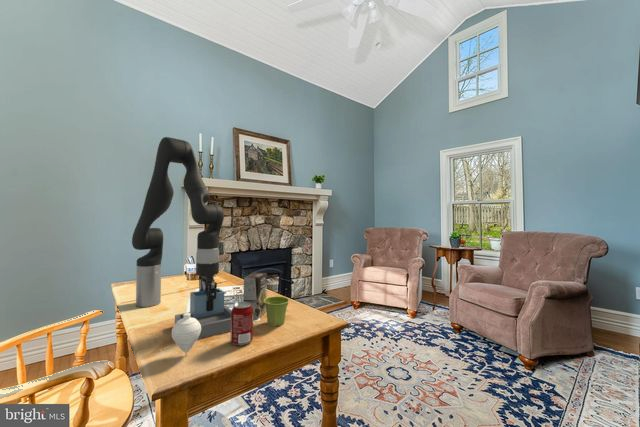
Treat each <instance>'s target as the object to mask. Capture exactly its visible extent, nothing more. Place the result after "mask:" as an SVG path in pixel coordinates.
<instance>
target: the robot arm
mask: <svg viewBox="0 0 640 427" xmlns="http://www.w3.org/2000/svg"><path fill="white" fill-rule="evenodd" d="M170 163H173V164H174V163H175V164H181V165H182V166H184V168H185V170H186V171H185V174H184V178H183V188H184V191H185V193H186V196H187V197H188V199H189V203H190V211H191V218H192V219H193V221H194V222H195V223H196V224H198V225H207V228H206V229H205V230H203V231H199V232H198V233H197V238H196V239H197V242H196V243H197V245H196V246H197V247H196V257H195V258H196V259H195V262H196V263H195V265H196V266H195V273H196V276H198V286H199V287H198V291H204V294H206V310H207V311H212V310H213V300H214V299H216V290H217V287H218V283H217V281H215V279H214V276H215V275H218V274H219V273H220V252H219V251H220V250H219V245H220V244H219V238H220V237H219V236H220V235H221V234H220V233H221V229H222V227H223V223H224V219H225V212H224V210H223V208H222V206H221V205H217V204H207V203H208V202H209V201H210V200H211V195H210V191H209V190H208V188H207V186H206V184H205V182H204V180H203V178H202V175H201V173H200V169H199V166H198V162H197V158H196V154H195V153H194V150H193V147H192V145H191V144H190V142H189V141H187V140H183V139H180V138H175V137H174V138H173V137H170V136H165V137H162V138H161V140H160V141H159V142H158V147H157V151H156V157H155V162H154V167H153V171H152V176H151V179H150V182H149V185H148V188H147V191H146V194H145V199H144V203H143V207H142V210H141V214H140V216H139V219H138V221H137V223H136V226H135V228H134V229H133V230H134V231H133V234H132V237H131V244H132V245H131V246H132V247H133V248H134V249H135V250H137V251H141V250H143V251H144V250H145V251H146V250H149V251H148V252H147V253H146V254H144V255H143V256H141V257H138V258H137V259H136V270H135V271H136V272H135V273H136V276H135V277H136V280H135V283H136V284H135V306H136V307H138V308H147V307H154V306H157V305H159V304H160V303H161V299H162V296H161V295H162V260H163V259H162V258H163V249H164V248H163V247H164V233H163V231H162V229H161V228H160V227H152V225H153V223H155V221H156V220H157V219H159V218H160V217H161V216H162V215H163V214H164V213H166V212H167V211H168V209H169V208H170V207H171V204H172V200H173V197H174V195H175V194H174V189H173V188H174V187H173V185H172V183H171V180H170V178H169V174H168V173H169V172H168V171H169V166H170ZM207 290H208V291H207ZM210 294H212V296H210Z"/></svg>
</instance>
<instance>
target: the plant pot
mask: <svg viewBox="0 0 640 427" xmlns="http://www.w3.org/2000/svg"><path fill="white" fill-rule="evenodd" d="M289 302H290V298H288V297H285V296H278V295H277V296H270V297H267V298H266V299H264V303H265V306H266V312H265V313H266V319H267V320H266V321H267V324H268V325H269V326H272V327H276V326H283V325H284V324H285V322H286V313H287V307H288V304H289Z"/></svg>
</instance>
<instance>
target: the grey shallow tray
mask: <svg viewBox="0 0 640 427" xmlns="http://www.w3.org/2000/svg"><path fill="white" fill-rule="evenodd" d="M231 310H232V309H231V308H229V307H228V306H227V305H224V312H220V313H215V314H210V315H205V316H200V317H195V319H197V320H198V321H199V323H200V325H201V333H200V335H199V337H198V339H197V340H199V339H203V338H207V337H211V336H214V335H219V334H224V333H227V332H231ZM185 313H186V312H183V313H178V314H174V325H175V324H176V323H177V321H179V320H180V319H183V314H185ZM187 313H190V311H189V312H187ZM190 314H191V313H190ZM190 317H191V318H194V317H193V316H192V314H191V315H190Z"/></svg>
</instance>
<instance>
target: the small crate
mask: <svg viewBox="0 0 640 427" xmlns="http://www.w3.org/2000/svg"><path fill="white" fill-rule="evenodd" d="M207 291H208V290H207ZM189 294H190V295H189V299H190V300H189V302H190V303H189V312H190V313H191V314H192V316H193V317H194V318H195V317H200V316H205V315H210V314H215V313H220V312H224V306H225V291H224V290H223V289H221V288H217V290H216V299H214V300H213V310H212V311H207V310H206V294H204V291H199V290H198V291H191V292H190V293H189ZM210 296H212V294H210Z"/></svg>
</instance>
